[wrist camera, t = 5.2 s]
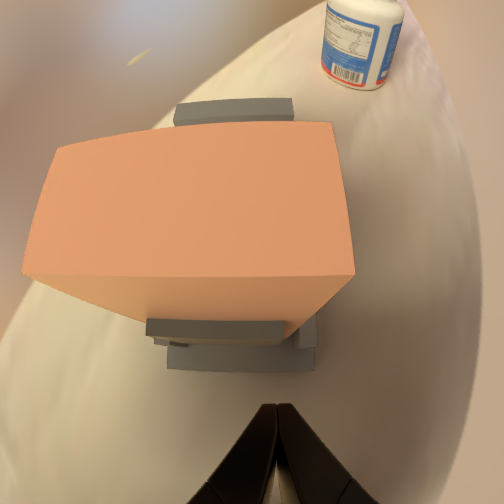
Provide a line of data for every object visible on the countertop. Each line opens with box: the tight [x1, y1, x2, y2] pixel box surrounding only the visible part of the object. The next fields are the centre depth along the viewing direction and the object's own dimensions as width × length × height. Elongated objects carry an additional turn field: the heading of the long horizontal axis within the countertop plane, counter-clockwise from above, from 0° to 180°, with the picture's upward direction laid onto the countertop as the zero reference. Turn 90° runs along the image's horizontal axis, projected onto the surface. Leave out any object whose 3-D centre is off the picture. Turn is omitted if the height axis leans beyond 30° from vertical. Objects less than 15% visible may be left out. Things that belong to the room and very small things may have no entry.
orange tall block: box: [21, 121, 355, 345], centre depth 8 cm, size 2×4×10 cm, turn 90°
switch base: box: [154, 98, 317, 372], centre depth 12 cm, size 10×6×6 cm, turn 0°
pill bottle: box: [321, 0, 404, 90], centre depth 15 cm, size 6×5×10 cm
